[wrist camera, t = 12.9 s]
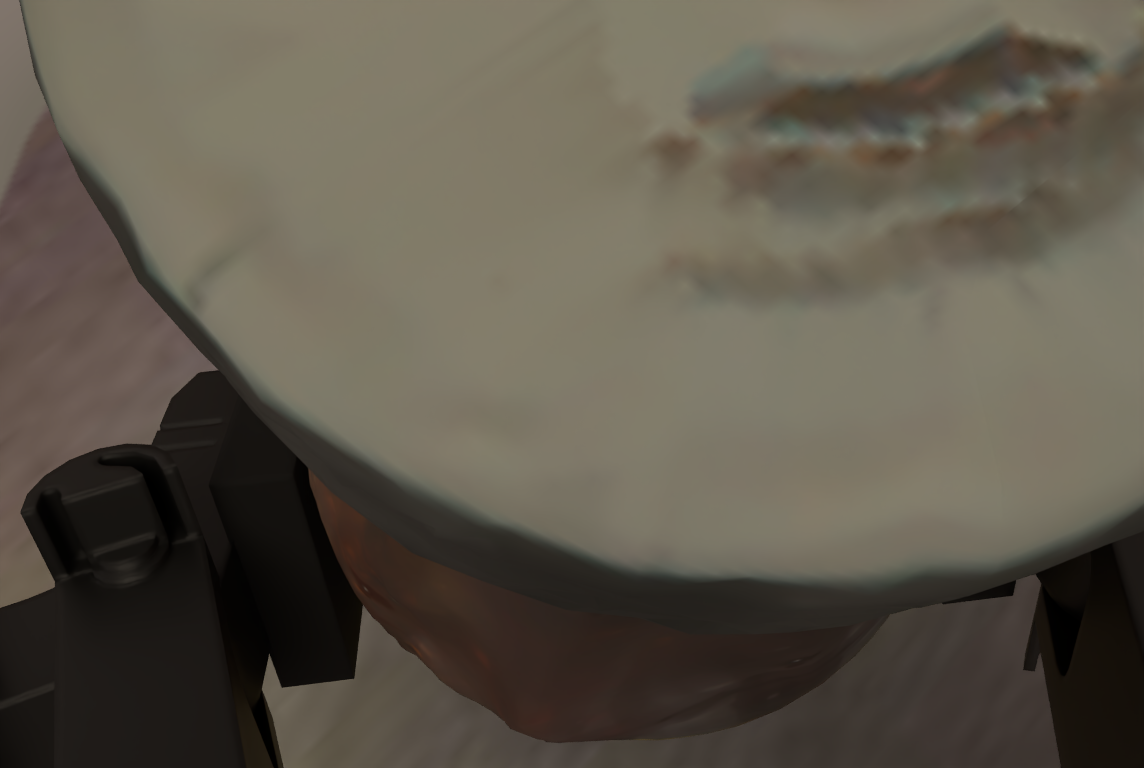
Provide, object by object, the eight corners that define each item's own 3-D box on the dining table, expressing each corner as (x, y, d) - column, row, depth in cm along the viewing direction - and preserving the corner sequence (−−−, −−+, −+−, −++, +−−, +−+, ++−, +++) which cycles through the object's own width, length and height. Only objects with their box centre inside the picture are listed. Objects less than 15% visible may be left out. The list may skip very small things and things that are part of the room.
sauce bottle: (706, 723, 21) (2242, 2259, 2) (415, 639, 21) (-1200, 1055, 2) (779, 418, 22) (2129, -784, 3) (503, 344, 23) (43, -1163, 3)
